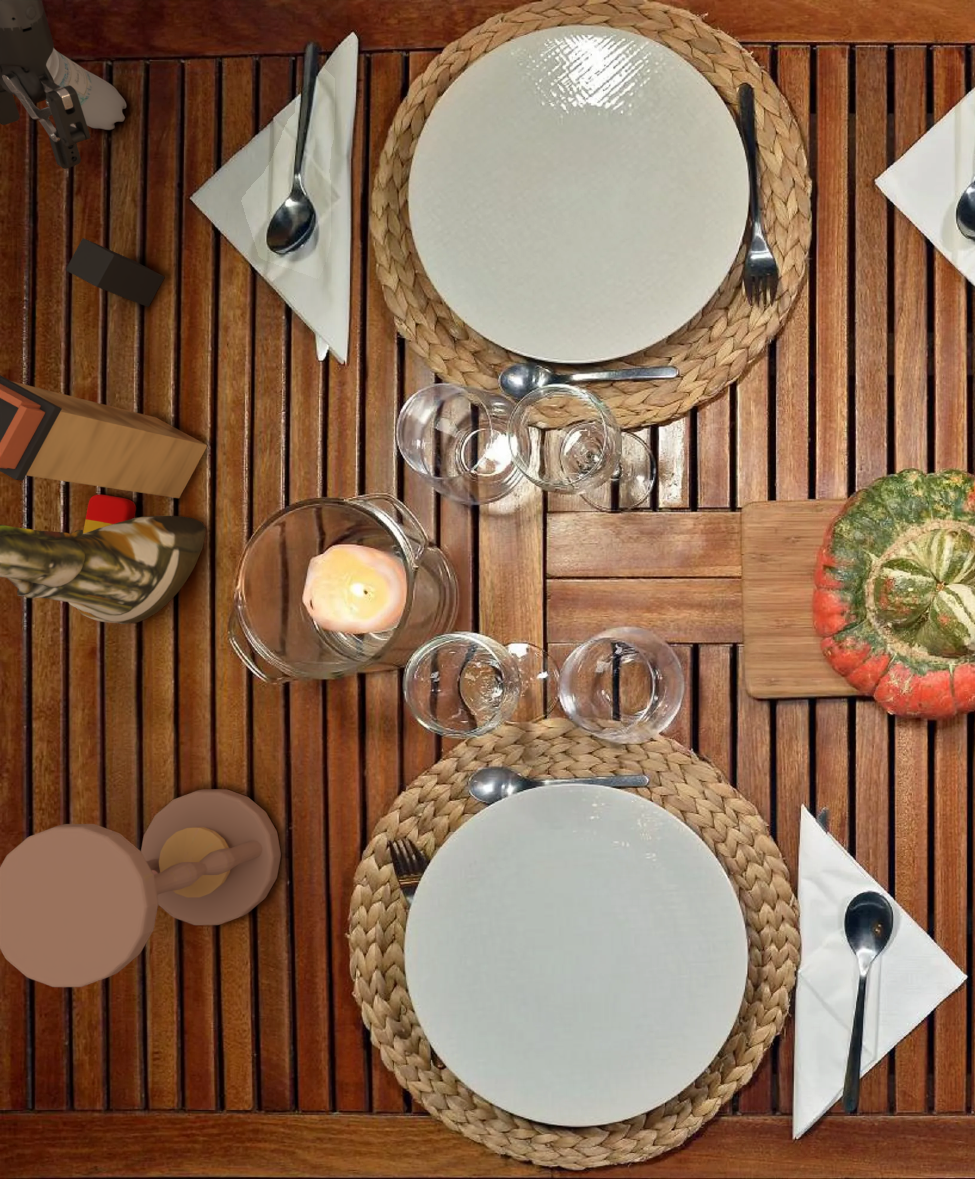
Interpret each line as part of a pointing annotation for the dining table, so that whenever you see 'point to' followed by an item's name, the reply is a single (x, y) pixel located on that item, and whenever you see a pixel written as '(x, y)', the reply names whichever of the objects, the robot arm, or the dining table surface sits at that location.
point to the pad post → (114, 273)
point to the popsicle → (107, 511)
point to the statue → (105, 565)
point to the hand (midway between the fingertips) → (39, 143)
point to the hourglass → (131, 885)
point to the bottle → (88, 92)
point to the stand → (114, 448)
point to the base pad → (22, 427)
